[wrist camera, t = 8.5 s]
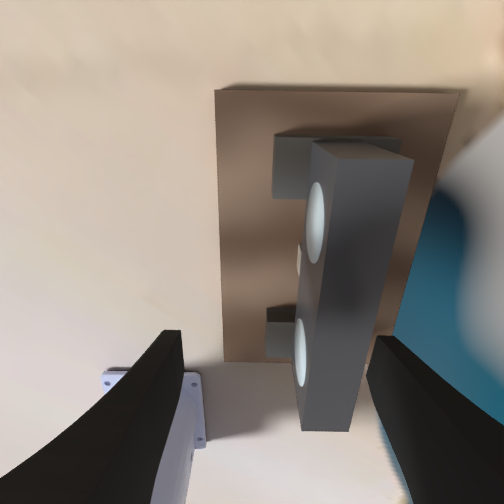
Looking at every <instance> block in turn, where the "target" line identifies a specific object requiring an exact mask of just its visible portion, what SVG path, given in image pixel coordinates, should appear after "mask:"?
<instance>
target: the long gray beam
mask: <svg viewBox="0 0 504 504" xmlns="http://www.w3.org/2000/svg"><path fill="white" fill-rule="evenodd" d="M413 164H414V160H413V159H410V158H407V157H405V156H402V155H399V154H396V153H393V152H390V151H388V150H385V149H382V148H379V147H376V146H373V145H371V144H368V143H365V142H312V148H311V158H310V169H309V179H308V190H307V200H306V210H305V221H304V231H303V242H302V252H301V263H300V273H299V283H298V294H297V304H296V315H295V325H294V336H293V346H292V357H291V362H292V369H293V375H294V382H295V389H296V396H297V403H298V410H299V417H300V424H301V431H332V432H349V428H350V424H351V420H352V416H353V412H354V407H355V403H356V399H357V395H358V391H359V387H360V383H361V379H362V374H363V370H364V366H365V362H366V358H367V354H368V350H369V346H370V341H371V337H372V333H373V329H374V325H375V321H376V317H377V313H378V308H379V304H380V300H381V296H382V292H383V288H384V284H385V280H386V275H387V271H388V267H389V263H390V259H391V255H392V251H393V247H394V242H395V238H396V234H397V230H398V226H399V222H400V218H401V214H402V209H403V205H404V201H405V197H406V193H407V189H408V185H409V181H410V177H411V172H412V168H413Z"/></svg>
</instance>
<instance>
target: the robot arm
mask: <svg viewBox="0 0 504 504" xmlns="http://www.w3.org/2000/svg"><path fill="white" fill-rule="evenodd" d="M366 377H367V381H368V385H369V388H370V392H371V395H372V399H373V402H374V405H375V407H376V410H377V412H378V415H379V417H380V419H381V422H382V424H383V427H384V429H385V431H386V433H387V436H388V438H389V441H390V443H391V446H392V448H393V450H394V453H395V455H396V457H397V460H398V462H399V464H400V467H401V469H402V472H403V474H404V477H405V479H406V482H407V485H408V488H409V491H410V494H411V497H412V500H413V503H414V504H504V426H503V425H502V424H501V423H499V422H498V421H497V420H495V419H494V418H492V417H491V416H490V415H488V414H487V413H485V412H484V411H483V410H481V409H480V408H479V407H478V406H476V405H475V404H474V403H472V402H471V401H470V400H469V399H467V398H466V397H465V396H463V395H462V394H461V393H460V392H458V391H457V390H456V389H455V388H453V387H452V386H451V385H450V384H449V383H448V382H446V381H445V380H444V379H443V378H442V377H440V376H439V375H438V374H437V373H436V372H435V371H433V370H432V369H431V368H430V367H429V366H428V365H426V364H425V363H424V362H423V361H422V360H421V359H420V358H419V357H417V356H416V355H415V354H414V353H413V352H412V351H411V350H410V349H408V348H407V347H406V346H405V345H404V344H403V343H402V342H400V341H399V340H398V339H397V338H396V337H395V336H389V335H377V337H376V340H375V344H374V348H373V352H372V355H371V359H370V363H369V366H368V370H367V374H366ZM100 379H101V383H102V386H103V390H104V393H105V395H104V396H103V397H102V398H101V399H100V400H99V401H98V402H97V403H96V404H95V405H93V406H92V407H91V408H90V409H89V410H88V411H87V412H86V413H85V414H83V415H82V416H81V417H80V418H79V419H78V420H77V421H75V422H74V423H73V424H72V425H71V426H69V427H68V428H67V429H66V430H64V431H63V432H62V433H61V434H59V435H58V436H57V437H56V438H55V439H53V440H52V441H51V442H50V443H48V444H47V445H46V446H44V447H43V448H42V449H40V450H39V451H38V452H36V453H35V454H34V455H32V456H31V457H30V458H28V459H27V460H25V461H24V462H23V463H21V464H20V465H18V466H17V467H16V468H14V469H13V470H11V471H10V472H8V473H7V474H6V475H4V476H3V477H1V478H0V504H185V502H186V496H187V490H188V485H189V479H190V473H191V467H192V461H193V455H194V450H195V449H203V448H205V447H206V432H205V420H204V408H203V396H202V384H201V376H200V374H198V373H195V372H185V370H184V359H183V349H182V338H181V330H163V331H162V332H161V333H160V335H159V336H158V337H157V338H156V339H155V341H154V342H153V343H152V344H151V345H150V347H149V348H148V349H147V350H146V351H145V353H144V354H143V355H142V356H141V357H140V358H139V359H138V361H137V362H136V363H135V364H134V365H133V366H132V367H131V368H130V369H129V370H128V371H104V372H103V373H102V375H101V376H100Z"/></svg>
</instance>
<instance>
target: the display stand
mask: <svg viewBox="0 0 504 504" xmlns="http://www.w3.org/2000/svg"><path fill="white" fill-rule="evenodd" d="M214 92H215V121H216V149H217V177H218V205H219V234H220V262H221V290H222V318H223V347H224V362H281V363H292V362H291V357H292V346H293V336H294V325H295V315H296V304H297V294H298V283H299V273H300V263H301V252H302V242H303V231H304V221H305V210H306V200H307V190H308V179H309V169H310V158H311V148H312V142H365V143H368V144H371V145H373V146H376V147H379V148H382V149H385V150H388V151H390V152H393V153H396V154H399V155H402V156H405V157H407V158H410V159H413V160H414V164H413V168H412V172H411V177H410V181H409V185H408V189H407V193H406V197H405V201H404V205H403V209H402V214H401V218H400V222H399V226H398V230H397V234H396V238H395V242H394V247H393V251H392V255H391V259H390V263H389V267H388V271H387V275H386V280H385V284H384V288H383V292H382V296H381V300H380V304H379V308H378V313H377V317H376V321H375V325H374V329H373V333H372V337H371V341H370V346H369V350H368V354H367V358H366V362H365V364H369V363H370V359H371V355H372V352H373V348H374V344H375V340H376V337H377V335H389V336H392V333H393V329H394V326H395V323H396V319H397V315H398V312H399V308H400V304H401V301H402V298H403V294H404V290H405V287H406V283H407V280H408V276H409V272H410V269H411V265H412V262H413V258H414V254H415V251H416V247H417V244H418V240H419V237H420V233H421V230H422V226H423V223H424V219H425V215H426V212H427V208H428V205H429V201H430V198H431V194H432V190H433V187H434V183H435V180H436V176H437V173H438V169H439V165H440V162H441V158H442V155H443V151H444V148H445V144H446V140H447V137H448V133H449V130H450V126H451V123H452V119H453V115H454V112H455V108H456V105H457V101H458V98H459V94H450V93H388V92H326V91H264V90H214Z"/></svg>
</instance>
